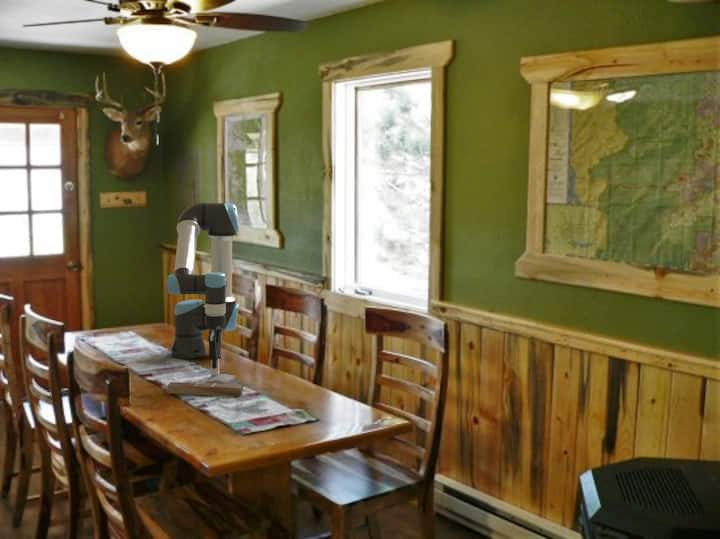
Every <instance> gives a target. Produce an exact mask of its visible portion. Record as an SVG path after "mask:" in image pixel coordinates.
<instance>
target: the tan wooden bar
mask: <svg viewBox="0 0 720 539" xmlns="http://www.w3.org/2000/svg"><path fill="white" fill-rule="evenodd" d="M166 388H167V394H169V395H171V394H172V395H174V394H175V395H198V396H199V395H204V396H228V397H231V396H232V397H233V396H234V397H241V396H242V394H243V393H244V391H243V390H244V389H243V384H237V383H235V384H216V383H214V384H209V383H204V382H201V383H200V382H175V381H172V382H171V381H170V382H169V383H168V384H167V385H166Z"/></svg>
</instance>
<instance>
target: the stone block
mask: <svg viewBox="0 0 720 539" xmlns="http://www.w3.org/2000/svg"><path fill="white" fill-rule="evenodd" d="M203 383H209V384H214V383H216V384H236V375H233V374H232V375H231V374H227V373H225V374H224V373H219V375H213V376H211V375H210V377H207V379H206V381H204V382H203Z"/></svg>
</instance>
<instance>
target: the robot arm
mask: <svg viewBox="0 0 720 539" xmlns="http://www.w3.org/2000/svg"><path fill="white" fill-rule="evenodd" d="M176 223H177V224H176V231H177V234H178V235H177V245H176V252H175V260H174V261H175V262H174V263H175V264H174V269H173V273H171V274H168V275H167V281H166V288H167V293H168V294H170V295H204V301H203V300H202V299H200V298H199V299H197V298H196V299H195V298H194V299H188V300H183V301H182V300H181V301H179V302H177V303H176V304H175V305H174V314H173V315H174V339H173V341H172V344H171V348H170V357H172V358H176V359H182V360H183V359H185V360H189V359H190V360H191V359H192V360H193V359H199V358H203V357H205V356H207V355H208V350H209V358H208V360H209V361H210V373H211V374H210V377H211V376H213V375H219V374H220V359H222V356H221V354H222V353H221V347H222V332H227V331H228V332H229V331H234V330H235V329H236V327H237V323H238V322H237V321H238V314H239V306H240V304H239V303H237V302H236V301H237V300H236V297H234V296H233V239H234V238H235V237H236V235H237V233H238V232H240V225H239V223H240V221H239V216H238V209H237V206H236V205H235V204H233V203H225V202H223V203H221V202H198V203H197V202H196V203H194V204H192V205H190V206H188V207H187V208H185V210H184V211H182V213H181V214H180V215H179V217H178V219H177V222H176ZM201 231H203V232H207V236H208V238H210V240H211V246H210V248H211V253H210V254H211V256H210V257H211V259H210V260H211V262H210V263H211V264H210V265H211V272H207V273H205V274H195V267H196V258H197V257H196V254H197V245H198V236H199V235H200V233H201ZM204 331H205V332H207V331H208V336H207V339H208V348H207V345H206V342H205V339H204V336H203V334H204V333H203V332H204Z"/></svg>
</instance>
